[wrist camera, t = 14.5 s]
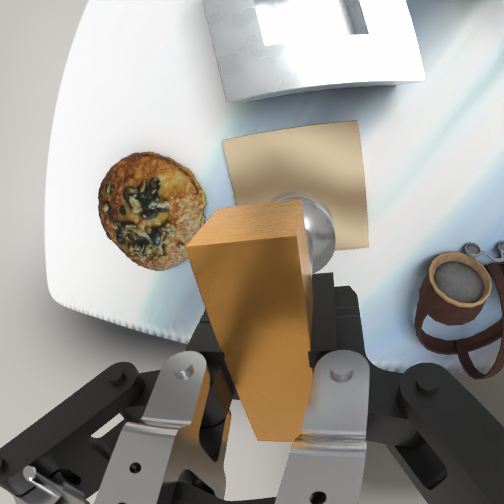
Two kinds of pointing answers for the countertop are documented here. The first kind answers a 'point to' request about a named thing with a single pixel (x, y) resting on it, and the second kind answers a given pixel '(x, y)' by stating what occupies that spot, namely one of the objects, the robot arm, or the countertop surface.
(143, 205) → the bread roll
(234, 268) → the bar
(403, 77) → the block
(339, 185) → the cork coaster
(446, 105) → the countertop surface
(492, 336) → the goggles
